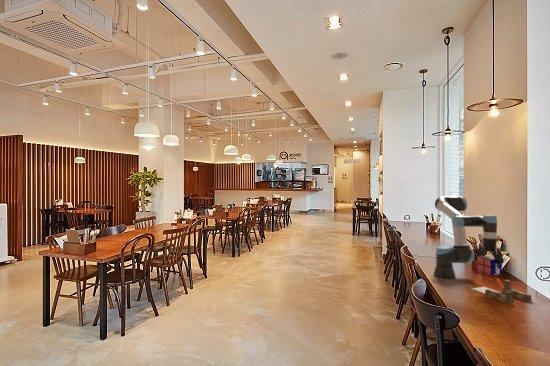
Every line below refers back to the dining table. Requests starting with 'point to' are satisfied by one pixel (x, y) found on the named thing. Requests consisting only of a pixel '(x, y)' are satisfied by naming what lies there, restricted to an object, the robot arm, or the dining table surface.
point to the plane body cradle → (508, 294)
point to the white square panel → (483, 289)
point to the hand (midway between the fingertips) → (489, 270)
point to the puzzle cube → (487, 264)
